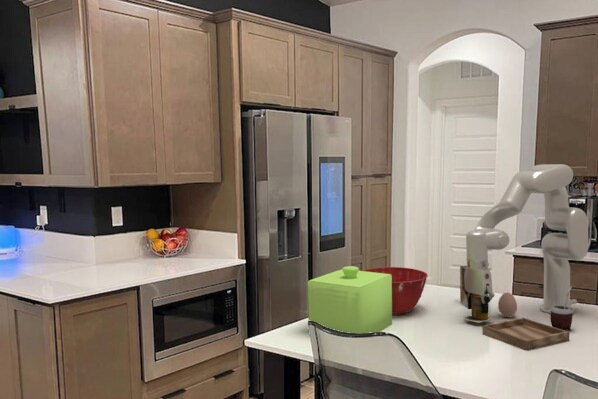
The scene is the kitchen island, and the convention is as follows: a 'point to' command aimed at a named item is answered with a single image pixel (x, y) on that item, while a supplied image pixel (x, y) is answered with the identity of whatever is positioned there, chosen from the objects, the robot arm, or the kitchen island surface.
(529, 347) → the tray
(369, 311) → the canister
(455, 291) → the kitchen island surface
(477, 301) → the condiment
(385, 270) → the mixing bowl
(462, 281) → the coffee box
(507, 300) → the egg
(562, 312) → the mate gourd
